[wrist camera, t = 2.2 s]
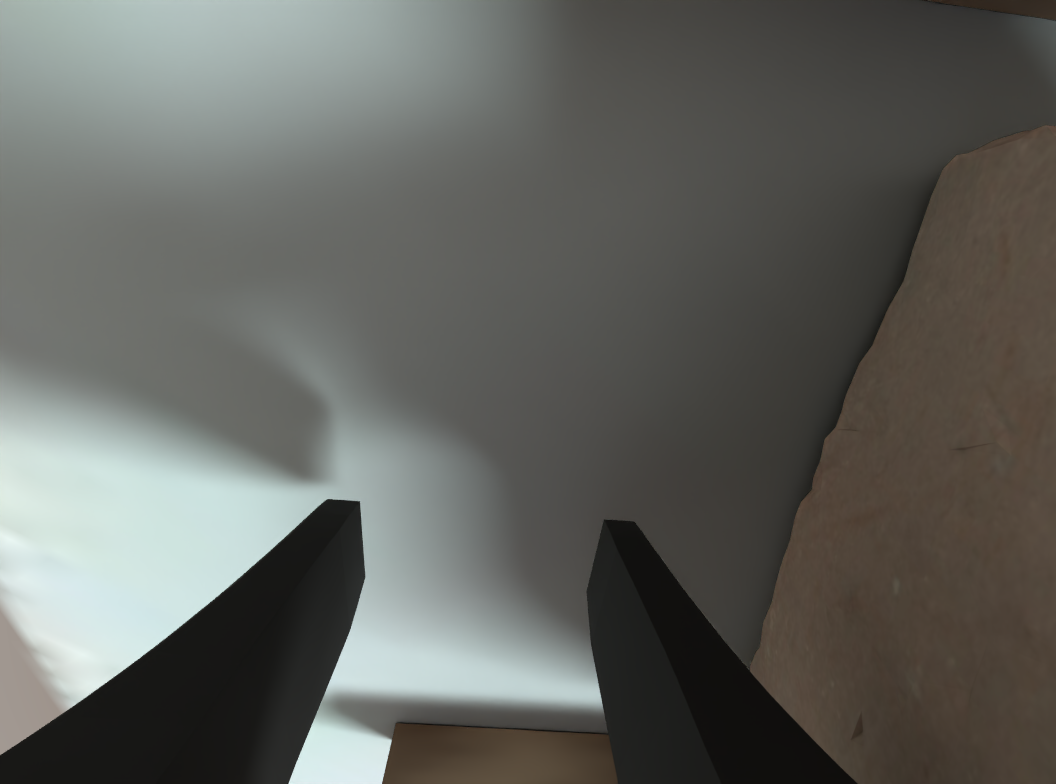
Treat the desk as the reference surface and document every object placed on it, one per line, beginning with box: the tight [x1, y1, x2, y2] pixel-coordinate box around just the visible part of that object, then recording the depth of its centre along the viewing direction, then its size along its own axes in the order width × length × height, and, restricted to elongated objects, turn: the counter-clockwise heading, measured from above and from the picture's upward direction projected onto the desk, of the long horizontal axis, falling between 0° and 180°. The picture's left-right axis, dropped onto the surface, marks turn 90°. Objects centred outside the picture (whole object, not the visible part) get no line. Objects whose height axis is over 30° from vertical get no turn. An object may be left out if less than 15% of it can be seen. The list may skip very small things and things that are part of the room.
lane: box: [382, 0, 1056, 784], centre depth 10 cm, size 20×22×3 cm
